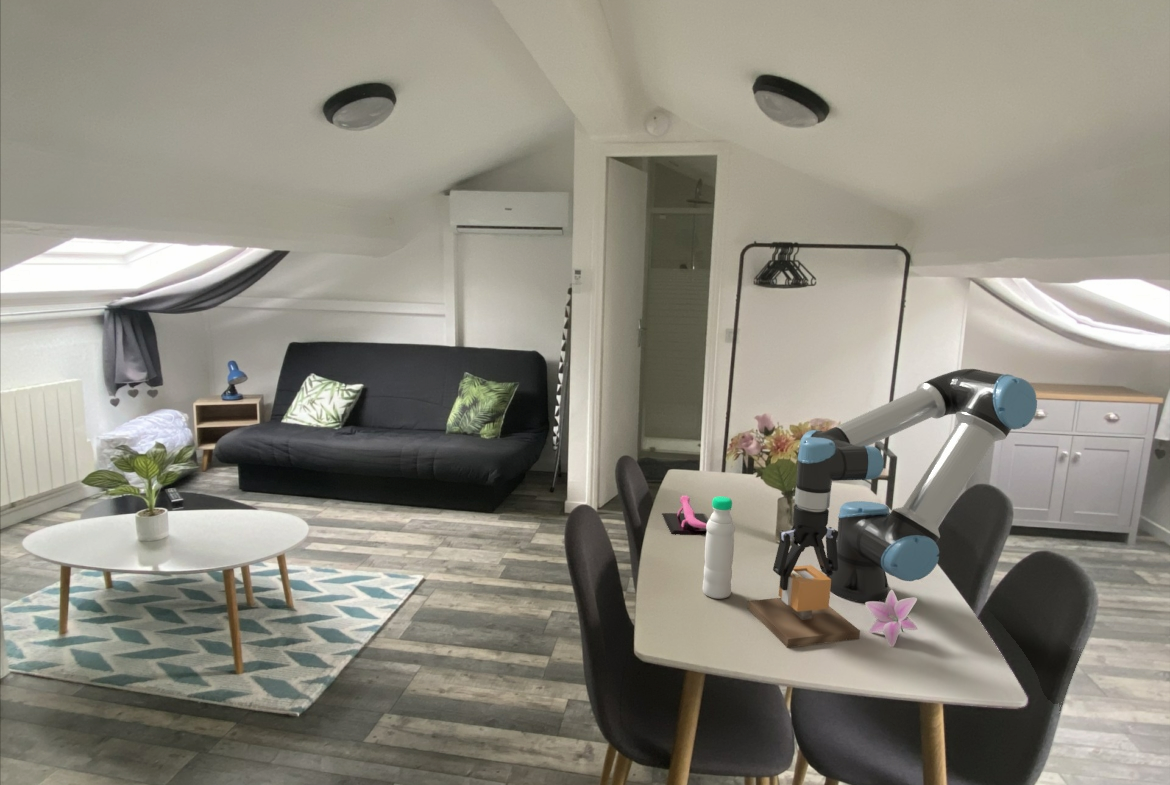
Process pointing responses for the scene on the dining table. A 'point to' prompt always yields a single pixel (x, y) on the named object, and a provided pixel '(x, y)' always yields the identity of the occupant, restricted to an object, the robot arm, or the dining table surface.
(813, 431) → the robot arm
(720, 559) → the water bottle
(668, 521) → the lizard figurine
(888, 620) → the lily
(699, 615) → the dining table surface
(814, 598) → the orange slotted box
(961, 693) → the dining table surface
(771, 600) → the board
